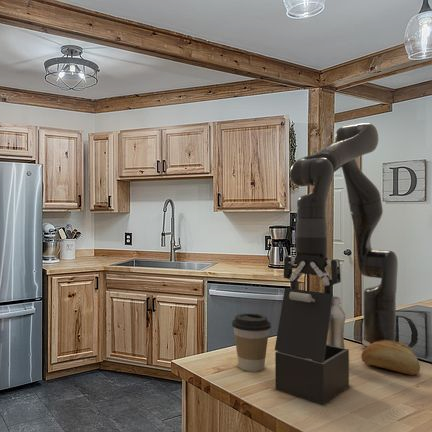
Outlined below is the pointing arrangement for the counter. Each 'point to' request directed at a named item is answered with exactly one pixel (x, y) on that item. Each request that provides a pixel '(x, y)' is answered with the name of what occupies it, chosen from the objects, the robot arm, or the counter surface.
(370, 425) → the counter surface
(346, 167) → the robot arm
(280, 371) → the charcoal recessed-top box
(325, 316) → the charcoal box lid
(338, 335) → the plastic bottle
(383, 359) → the bread roll
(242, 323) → the coffee cup
